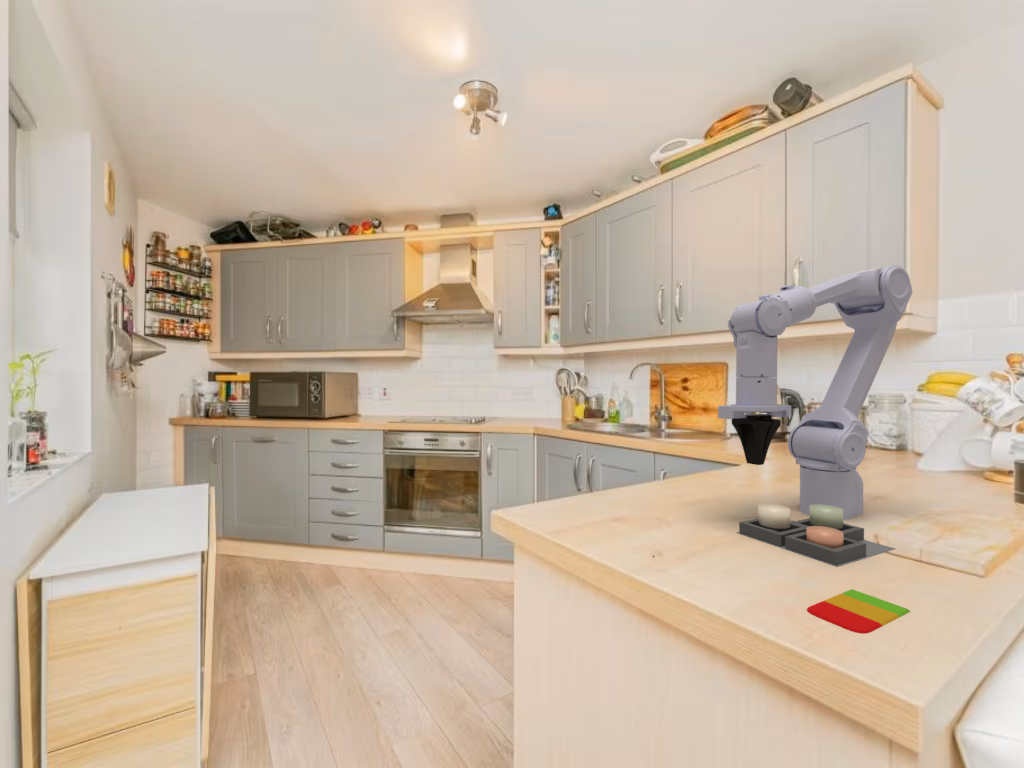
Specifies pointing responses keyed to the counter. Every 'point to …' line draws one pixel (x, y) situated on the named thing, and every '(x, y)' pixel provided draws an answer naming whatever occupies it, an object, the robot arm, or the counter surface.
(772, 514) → the cream button
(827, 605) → the striped ice pop
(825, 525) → the sage button
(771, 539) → the grey compartment tray
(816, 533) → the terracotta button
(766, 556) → the counter surface
